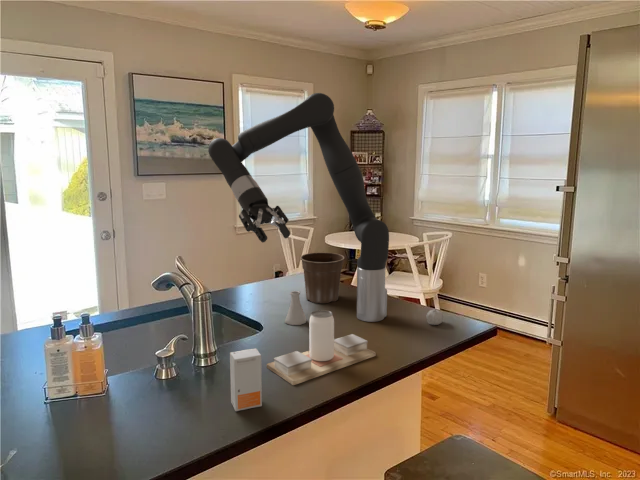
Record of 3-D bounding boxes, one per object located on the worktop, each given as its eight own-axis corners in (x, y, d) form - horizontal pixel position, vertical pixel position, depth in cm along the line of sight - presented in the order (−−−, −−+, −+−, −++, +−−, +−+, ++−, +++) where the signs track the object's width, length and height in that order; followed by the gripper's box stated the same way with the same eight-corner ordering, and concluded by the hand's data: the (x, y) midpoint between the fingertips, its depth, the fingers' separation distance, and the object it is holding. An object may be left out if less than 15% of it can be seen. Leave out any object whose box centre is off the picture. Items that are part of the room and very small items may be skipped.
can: (331, 363, 122) (331, 318, 120) (306, 361, 124) (306, 316, 121) (336, 353, 128) (336, 310, 126) (312, 351, 130) (312, 308, 128)
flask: (280, 324, 154) (280, 294, 152) (290, 317, 160) (290, 288, 158) (301, 327, 151) (300, 296, 149) (310, 319, 158) (310, 290, 156)
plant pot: (344, 305, 172) (345, 261, 169) (299, 305, 172) (299, 261, 169) (343, 292, 188) (343, 252, 185) (302, 292, 188) (301, 252, 185)
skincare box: (235, 412, 102) (233, 359, 99) (230, 403, 105) (228, 352, 103) (263, 406, 104) (261, 354, 102) (257, 397, 108) (256, 347, 106)
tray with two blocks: (346, 342, 139) (346, 330, 138) (375, 355, 130) (375, 343, 129) (266, 367, 123) (266, 354, 122) (293, 385, 113) (293, 371, 113)
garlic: (436, 328, 149) (436, 312, 149) (421, 323, 153) (422, 308, 153) (447, 324, 153) (447, 308, 152) (433, 319, 157) (433, 304, 156)
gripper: (234, 187, 131) (263, 233, 125) (273, 184, 141) (301, 227, 136) (223, 205, 135) (251, 250, 130) (262, 201, 146) (288, 243, 140)
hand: (276, 238), depth 133 cm, fingers open, 8 cm apart
